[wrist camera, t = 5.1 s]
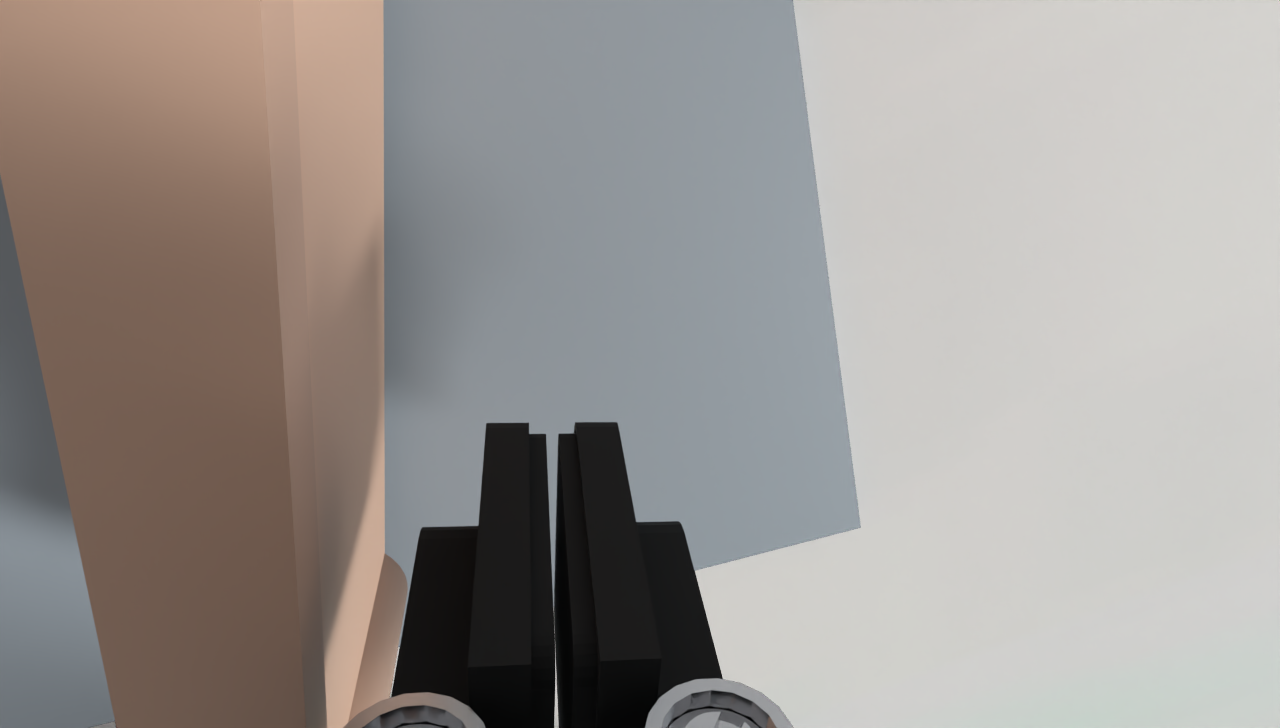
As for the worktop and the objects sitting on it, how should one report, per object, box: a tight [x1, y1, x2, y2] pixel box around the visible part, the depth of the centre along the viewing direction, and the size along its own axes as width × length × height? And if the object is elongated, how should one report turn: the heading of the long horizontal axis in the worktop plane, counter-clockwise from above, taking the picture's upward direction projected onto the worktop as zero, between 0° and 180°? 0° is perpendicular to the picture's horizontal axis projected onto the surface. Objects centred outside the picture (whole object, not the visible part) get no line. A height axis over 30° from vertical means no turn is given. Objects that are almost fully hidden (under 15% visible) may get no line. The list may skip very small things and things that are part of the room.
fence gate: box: [0, 0, 408, 728], centre depth 10 cm, size 14×2×7 cm, turn 172°
